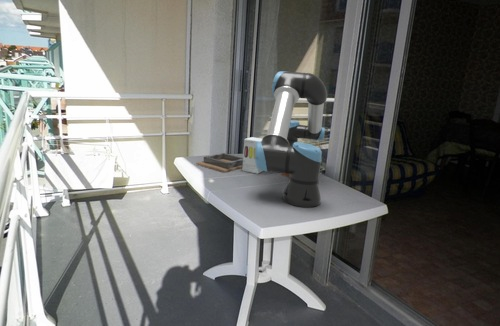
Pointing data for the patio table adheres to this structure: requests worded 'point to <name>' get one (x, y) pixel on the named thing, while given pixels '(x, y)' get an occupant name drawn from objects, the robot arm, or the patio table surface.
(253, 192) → the patio table surface
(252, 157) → the supplement box
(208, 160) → the tub holder
